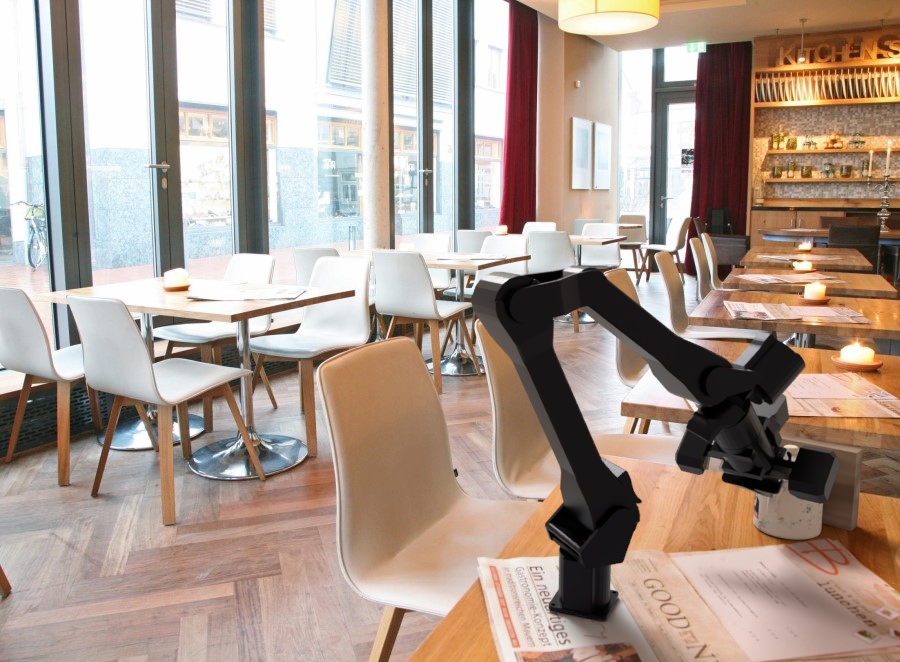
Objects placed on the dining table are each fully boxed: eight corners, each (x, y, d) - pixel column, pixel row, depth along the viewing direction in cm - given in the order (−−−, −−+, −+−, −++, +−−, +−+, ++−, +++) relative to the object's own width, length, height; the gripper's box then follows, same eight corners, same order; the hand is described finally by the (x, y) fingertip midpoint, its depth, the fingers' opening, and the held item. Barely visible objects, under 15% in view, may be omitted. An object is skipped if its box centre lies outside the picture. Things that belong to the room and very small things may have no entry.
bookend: (851, 530, 109) (856, 453, 107) (757, 506, 118) (761, 434, 116) (857, 525, 110) (862, 449, 109) (764, 502, 119) (768, 431, 118)
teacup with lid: (763, 510, 116) (768, 433, 114) (830, 526, 110) (836, 444, 109) (734, 536, 107) (738, 453, 105) (805, 554, 101) (810, 466, 100)
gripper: (839, 385, 91) (865, 456, 100) (688, 364, 104) (723, 429, 113) (809, 468, 86) (839, 534, 96) (655, 436, 99) (695, 497, 109)
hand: (770, 494), depth 104 cm, fingers closed, pressing on teacup with lid
